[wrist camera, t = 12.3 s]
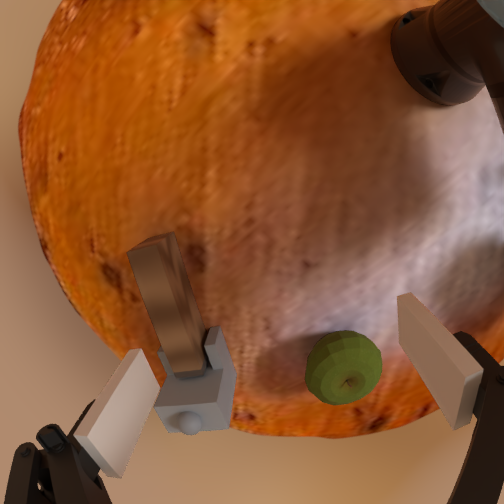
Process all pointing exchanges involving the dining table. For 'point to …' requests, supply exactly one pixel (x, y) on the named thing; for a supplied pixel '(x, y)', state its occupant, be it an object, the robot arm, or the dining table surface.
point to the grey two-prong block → (199, 391)
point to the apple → (343, 367)
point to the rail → (170, 303)
